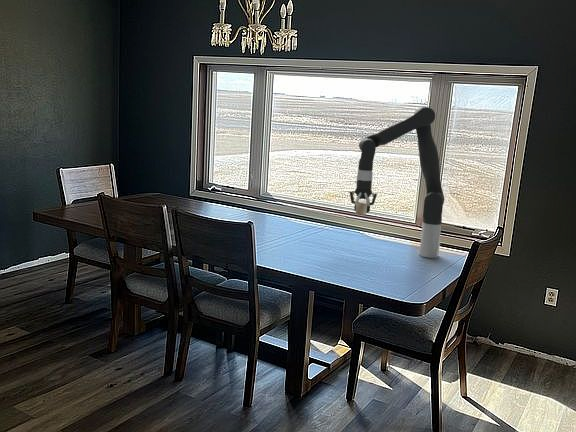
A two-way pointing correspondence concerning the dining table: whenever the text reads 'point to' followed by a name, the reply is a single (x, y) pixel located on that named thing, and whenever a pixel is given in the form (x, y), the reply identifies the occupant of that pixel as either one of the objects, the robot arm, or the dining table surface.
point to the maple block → (361, 207)
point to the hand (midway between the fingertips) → (361, 212)
